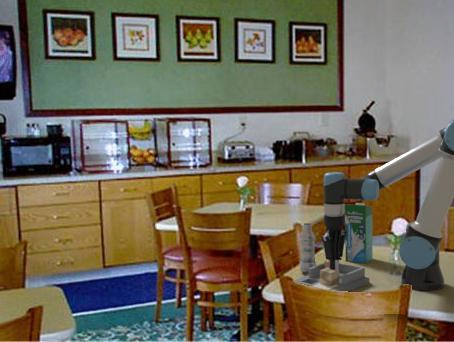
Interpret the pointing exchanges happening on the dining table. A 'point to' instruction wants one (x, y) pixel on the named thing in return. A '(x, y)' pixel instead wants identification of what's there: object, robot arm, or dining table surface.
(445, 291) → the dining table surface
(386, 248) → the dining table surface
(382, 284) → the dining table surface
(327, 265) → the tan block
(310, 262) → the plastic bottle
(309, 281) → the cubby deck
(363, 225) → the milk carton
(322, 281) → the maple cube
